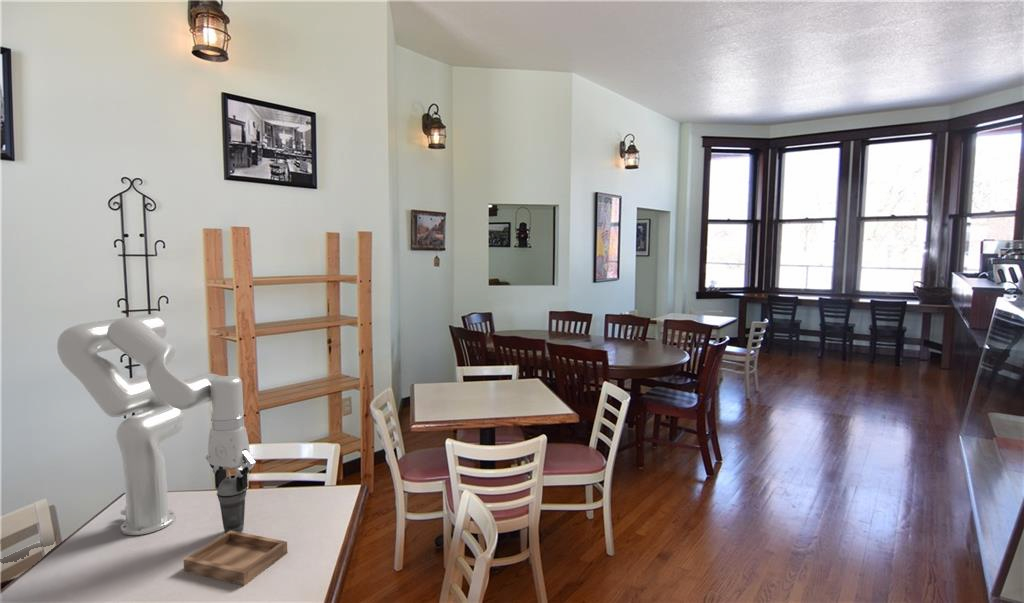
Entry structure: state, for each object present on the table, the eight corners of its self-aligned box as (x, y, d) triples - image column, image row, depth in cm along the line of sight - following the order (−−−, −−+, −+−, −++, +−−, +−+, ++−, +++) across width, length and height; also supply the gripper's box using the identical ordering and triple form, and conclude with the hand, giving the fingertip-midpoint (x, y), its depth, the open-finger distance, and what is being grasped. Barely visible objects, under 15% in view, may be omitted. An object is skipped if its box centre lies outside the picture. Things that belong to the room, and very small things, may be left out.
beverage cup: (236, 540, 143) (232, 467, 141) (212, 537, 144) (208, 465, 142) (254, 526, 150) (251, 456, 148) (231, 523, 151) (228, 454, 149)
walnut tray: (184, 571, 129) (183, 559, 129) (231, 541, 142) (230, 530, 142) (244, 585, 124) (243, 573, 123) (287, 552, 137) (286, 541, 136)
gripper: (191, 424, 143) (195, 489, 145) (243, 430, 138) (246, 498, 140) (214, 415, 150) (218, 477, 152) (265, 421, 145) (268, 486, 147)
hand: (231, 487), depth 146 cm, fingers closed on beverage cup, 6 cm apart
